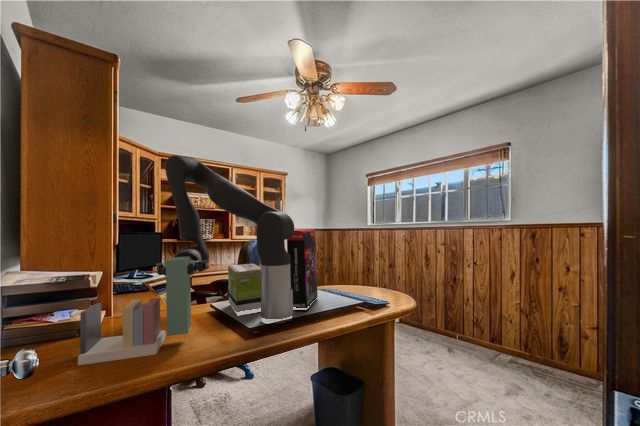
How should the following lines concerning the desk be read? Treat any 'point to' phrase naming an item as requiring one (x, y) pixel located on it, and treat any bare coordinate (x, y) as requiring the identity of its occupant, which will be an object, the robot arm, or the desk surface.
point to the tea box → (244, 287)
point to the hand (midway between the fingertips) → (177, 271)
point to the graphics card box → (303, 267)
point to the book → (178, 296)
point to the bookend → (90, 327)
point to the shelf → (117, 351)
